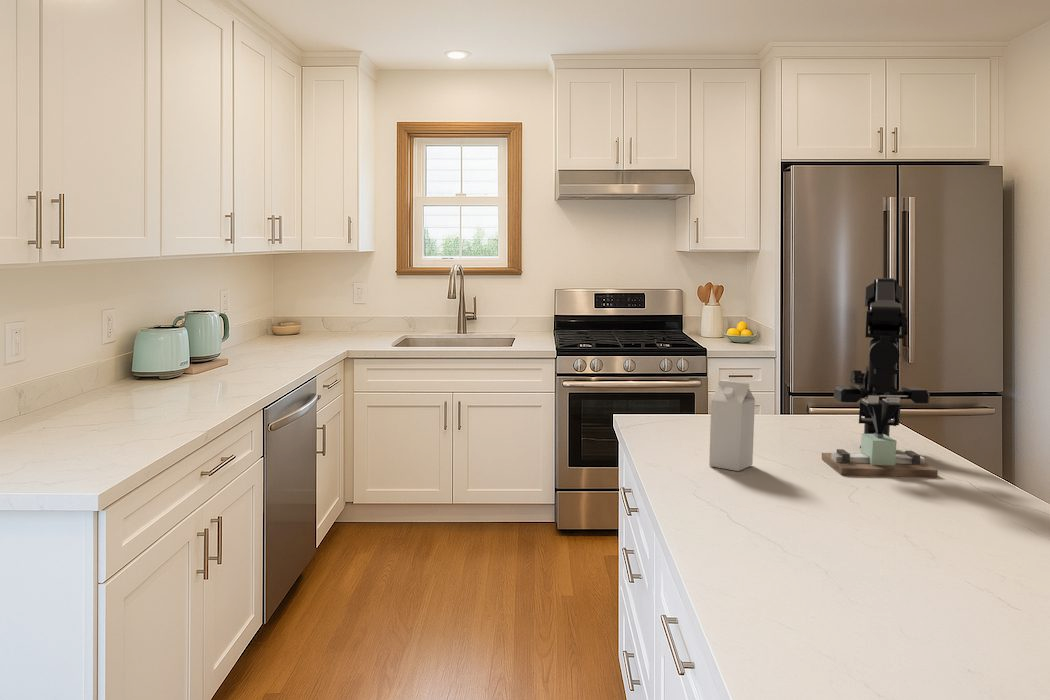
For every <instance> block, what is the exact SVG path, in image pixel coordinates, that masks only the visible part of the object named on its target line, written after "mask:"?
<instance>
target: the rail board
mask: <svg viewBox="0 0 1050 700" xmlns="http://www.w3.org/2000/svg"><path fill="white" fill-rule="evenodd" d="M821 460H822V461H823V462H824V463H826V464H827V465H828V466H829V467H831V468H832V469H833V470H834V471H836V473H838V474H839V475H840V476H861V477H862V476H866V477H869V476H870V477H871V476H872V477H873V476H874V477H906V478H907V477H913V478H914V477H915V478H916V477H920V478H925V477H926V478H938V473H939V472H938V471H939V470H938V469H936V468H935V467H933V466H931V465H929V464H928V463H926V457H924V456H921V454H918V453H917V452H915V451H913V450H905V451H904V453H896V460H895V465H871V464H870V463H869V460H870V457H869V456H867V455H866V454H861V452H860V453H858V452H857V453H856V452H854V453H853V452H852V453H850V452H848V451H847V450H845V449H842V448H841V449H840V448H836V452H821Z"/></svg>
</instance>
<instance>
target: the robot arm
mask: <svg viewBox="0 0 1050 700" xmlns="http://www.w3.org/2000/svg"><path fill="white" fill-rule="evenodd" d="M897 282H898V280H897V278H896V279H895V278H892V277H887V278H886V277H878V278H876V279H873V282H872V283H871V284H869V285H867V286H866V287H865V295H864V297H865V298H864V307H865V308H867V310H866V316H865V317H866V319H865V338H866V339H867V338H869V339H870V341H869V345H868V346H869V347H868V348H869V349H868V365H866V368H865V372H864V373H863V372H862V370H857V369H856V370H851V371H850V379H849V380H850V385H837V386H836V387H835V388H834V391H833V399H835V400H837V401H839V402H841V403H858V402H859V410H858V411H859V414H858V415H859V416H858V424H864V428H863V434H874V433H880V434H885V435H887V436H889V437H890V434H891V433H890V431H891V429H890V428H891V426H893V427H897V426H900V416H901V408H902V407H903V404H902V403H900V401H901V400H911V401H912V402H913V403H914V404H930V399H931V397H930V392H929V391H928V390H927V389H924V388H922V387H919V386H902V388H901V390H899V389H898V388H897V375H899V373H900V369H898V362H899V360H900V351H899V342H898V341H897V340H905V336H908V320H909V319H908V316H907V314H906V312H905V311H903V310H902V307H903V301H904V287H903V286H901V285H900V284H899V283H897ZM855 386H858V387H855ZM859 449H861V445H860V446H859Z"/></svg>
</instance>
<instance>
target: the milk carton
mask: <svg viewBox="0 0 1050 700" xmlns="http://www.w3.org/2000/svg"><path fill="white" fill-rule="evenodd" d="M710 401H711V402H710V426H709V427H710V428H709V430H710V433H709V434H710V435H709V466H710V467H713V468H718V469H723V470H724V469H726V470H730V471H735V472H741V471H742V470H744V469H747V468H749V467H752V465H753V459H754V458H753V457H754V456H753V455H754V436H755V433H754V431H755V409H756V408H755V406H756V403H755V402H756V399H755V397H754V395H753V393H752V391H751V390H750V383H749V382H748V383H747V382H736V381H728V380H718V385H717V388H716V390H715V392H714V394H713V395H712V398H711V400H710Z"/></svg>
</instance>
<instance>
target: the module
mask: <svg viewBox="0 0 1050 700" xmlns="http://www.w3.org/2000/svg"><path fill="white" fill-rule="evenodd" d="M860 446H861V448H860V453H861V454H866V455H867V456H869V457H870V460H869V463H870V464H871V465H895V460H896V454H897V440H896V439H894V438H893V437H890V435H889V436H887V435H885V434H880V433H874V434H864V433H861V439H860Z"/></svg>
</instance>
